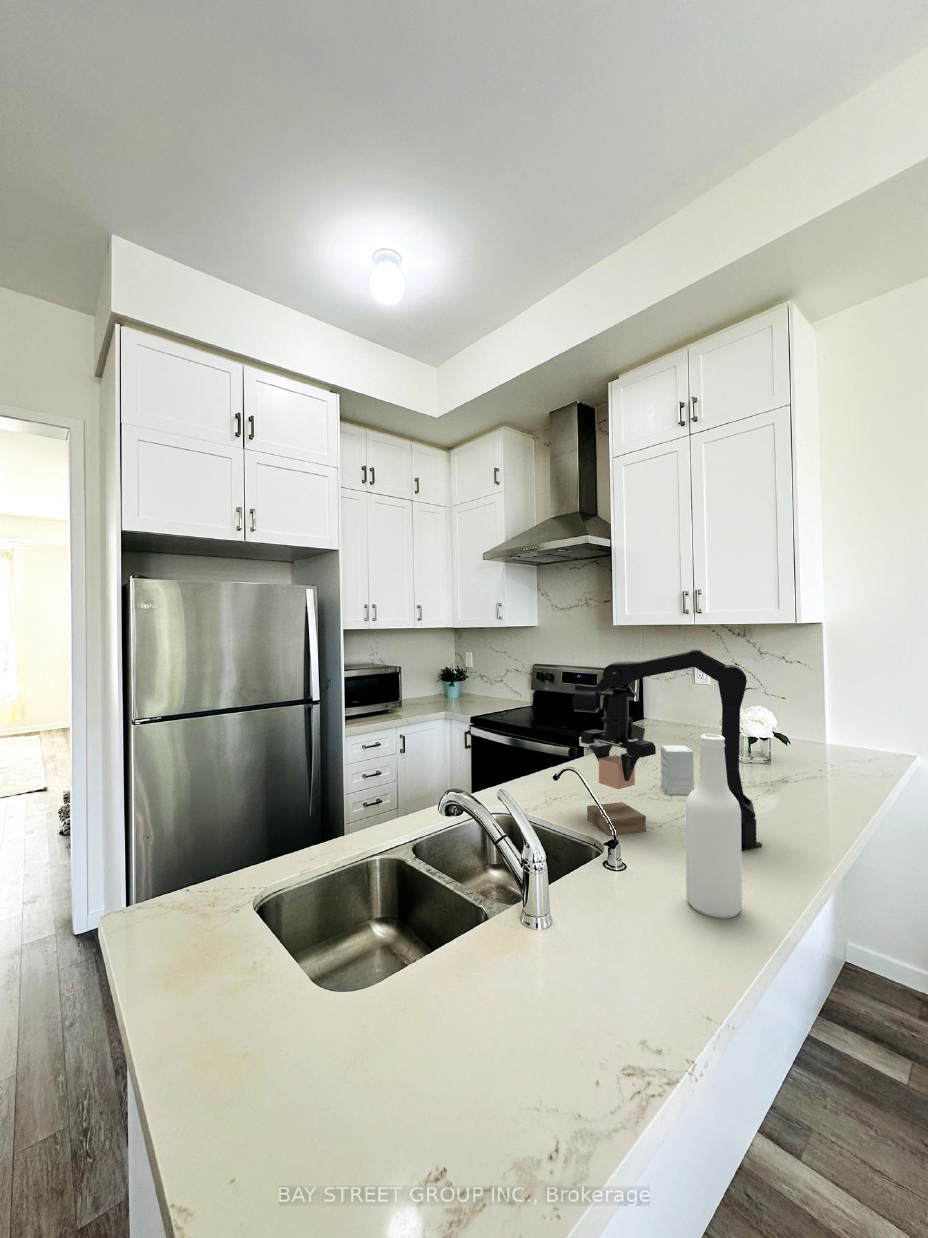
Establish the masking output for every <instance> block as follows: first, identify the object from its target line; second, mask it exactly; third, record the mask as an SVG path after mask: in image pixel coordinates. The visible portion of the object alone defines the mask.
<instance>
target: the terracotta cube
mask: <svg viewBox="0 0 928 1238" xmlns="http://www.w3.org/2000/svg"><path fill="white" fill-rule="evenodd" d="M635 767H636V765H635V766H634V769H633V772H632V774H631V777H630V780H629V781H625V778H624V774H623V767H622V760H621V755H617V754H614V755H609V756H608V757H604V758H599V762H598V783H599V784H601V785H604V786H607V787H610V788H613V789H615V790H616V789H617V790H621V789H625V788H629V787H632V786H635V785H636V778H635V777H636V773H635V771H636V770H635V769H636V768H635Z"/></svg>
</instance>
